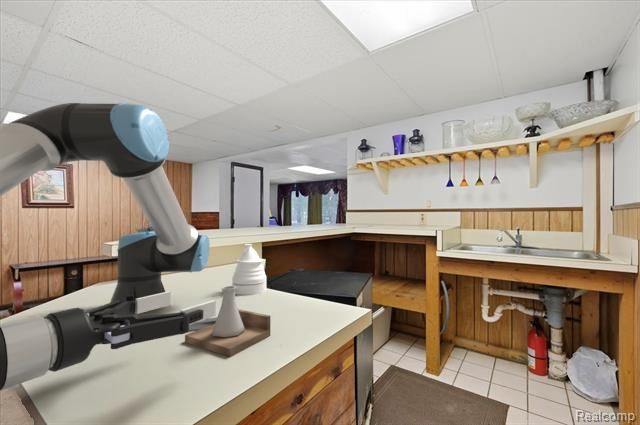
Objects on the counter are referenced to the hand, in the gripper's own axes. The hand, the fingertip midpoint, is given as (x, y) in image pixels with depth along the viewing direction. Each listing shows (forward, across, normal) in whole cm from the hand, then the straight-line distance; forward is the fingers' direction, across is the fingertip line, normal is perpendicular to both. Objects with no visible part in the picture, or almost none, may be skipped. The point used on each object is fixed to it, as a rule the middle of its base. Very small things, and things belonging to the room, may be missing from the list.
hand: (190, 302), depth 56 cm
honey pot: (+46, -29, -11) cm, 55 cm away
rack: (+10, 0, -10) cm, 14 cm away
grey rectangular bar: (+12, -11, -11) cm, 19 cm away
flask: (+10, 0, -9) cm, 13 cm away
